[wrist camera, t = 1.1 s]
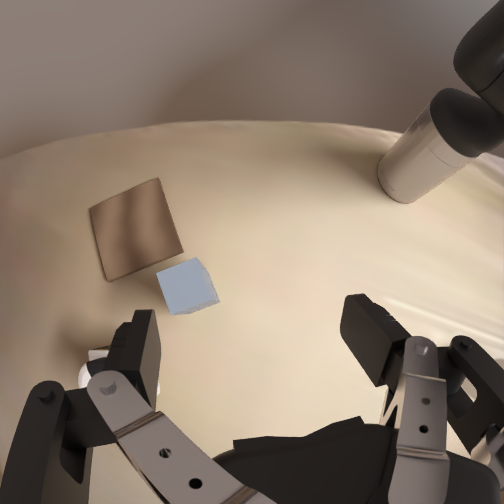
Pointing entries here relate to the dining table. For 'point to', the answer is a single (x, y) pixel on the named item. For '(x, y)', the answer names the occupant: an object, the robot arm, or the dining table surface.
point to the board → (135, 230)
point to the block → (187, 287)
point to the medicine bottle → (95, 366)
